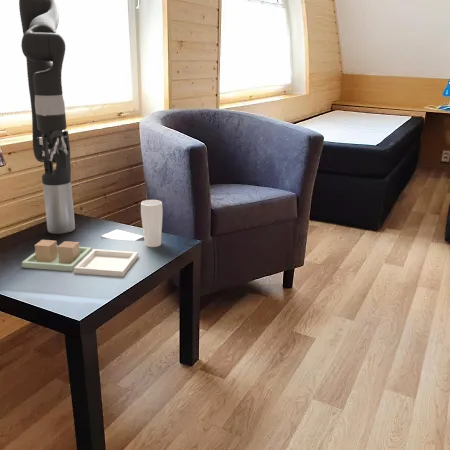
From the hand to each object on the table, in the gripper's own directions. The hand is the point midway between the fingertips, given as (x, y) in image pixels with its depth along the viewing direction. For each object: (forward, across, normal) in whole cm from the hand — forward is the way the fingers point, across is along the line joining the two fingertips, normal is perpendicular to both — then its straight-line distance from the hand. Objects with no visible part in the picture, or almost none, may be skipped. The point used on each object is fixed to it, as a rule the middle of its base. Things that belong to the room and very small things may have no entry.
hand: (56, 170), depth 133 cm
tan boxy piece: (+26, +2, -5) cm, 27 cm away
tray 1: (+27, +2, -1) cm, 28 cm away
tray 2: (+27, +3, +14) cm, 31 cm away
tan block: (+26, +2, +2) cm, 27 cm away
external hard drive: (+28, -20, +11) cm, 37 cm away
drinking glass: (+28, -15, +23) cm, 39 cm away
